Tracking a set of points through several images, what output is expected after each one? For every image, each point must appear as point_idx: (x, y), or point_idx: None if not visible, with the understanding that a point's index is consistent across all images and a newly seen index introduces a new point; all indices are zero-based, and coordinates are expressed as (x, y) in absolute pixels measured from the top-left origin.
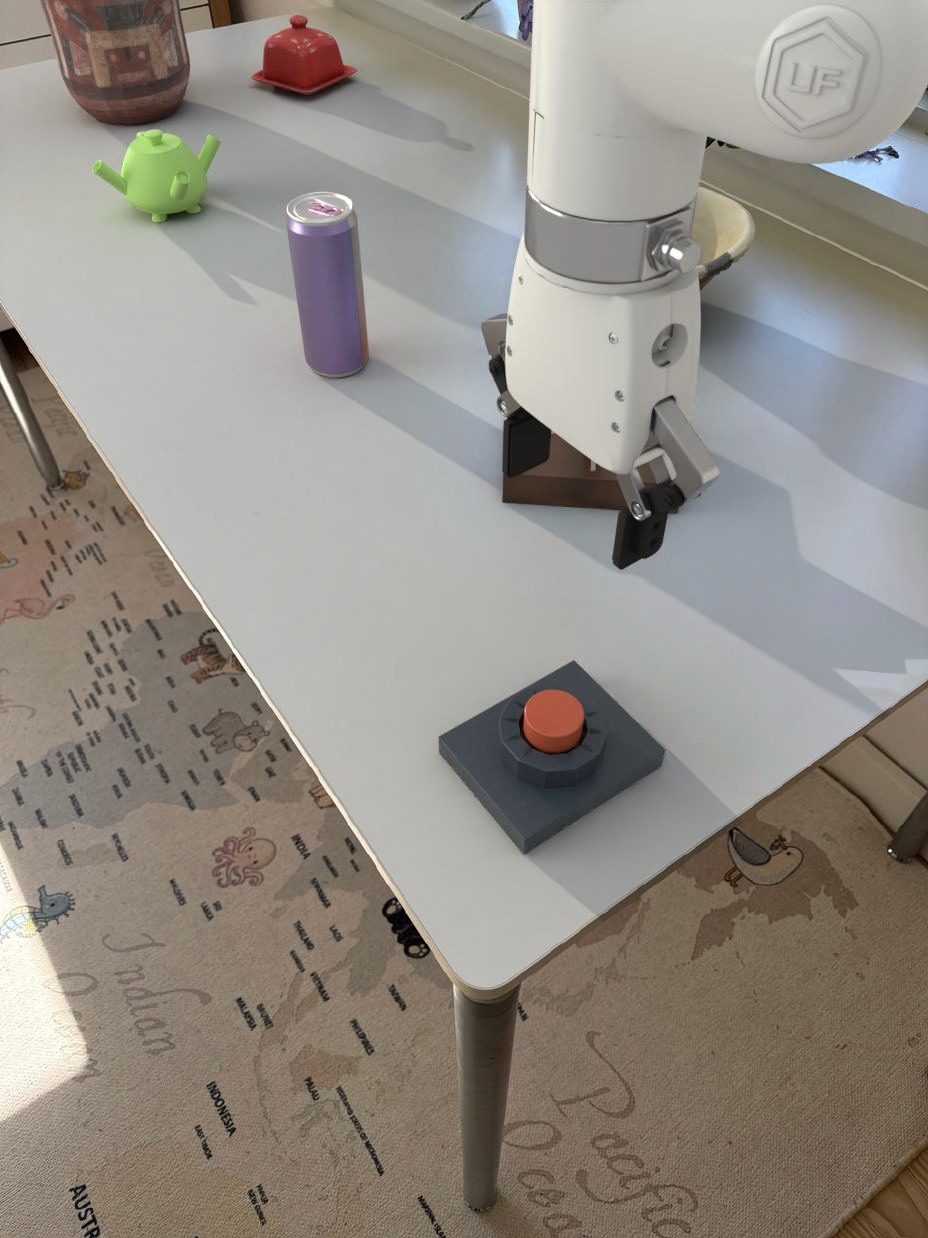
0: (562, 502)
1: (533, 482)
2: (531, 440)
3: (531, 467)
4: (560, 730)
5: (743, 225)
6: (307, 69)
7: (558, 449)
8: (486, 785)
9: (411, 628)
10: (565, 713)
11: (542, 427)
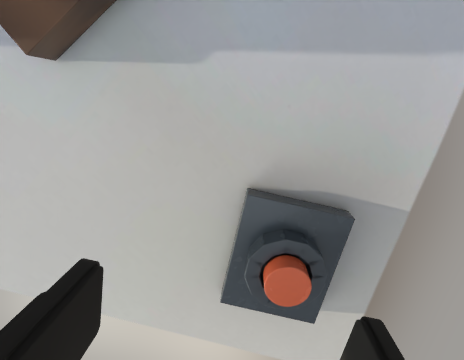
0: (94, 17)
1: (56, 34)
2: (61, 352)
3: (100, 297)
4: (301, 297)
5: None
6: None
7: None
8: (270, 311)
9: (127, 228)
10: (295, 284)
11: (47, 348)
